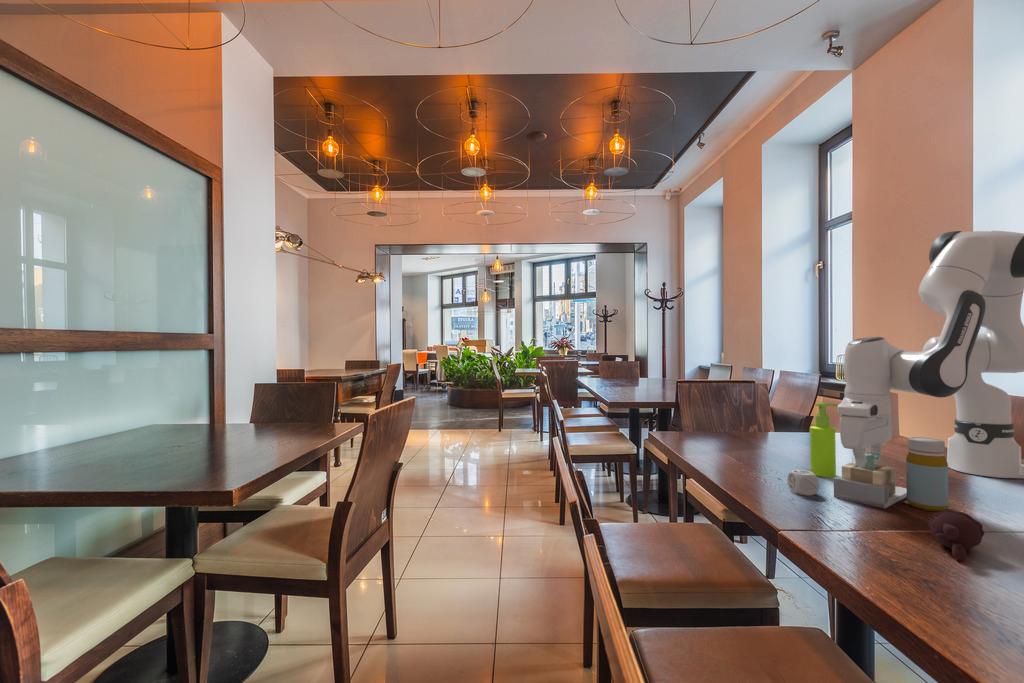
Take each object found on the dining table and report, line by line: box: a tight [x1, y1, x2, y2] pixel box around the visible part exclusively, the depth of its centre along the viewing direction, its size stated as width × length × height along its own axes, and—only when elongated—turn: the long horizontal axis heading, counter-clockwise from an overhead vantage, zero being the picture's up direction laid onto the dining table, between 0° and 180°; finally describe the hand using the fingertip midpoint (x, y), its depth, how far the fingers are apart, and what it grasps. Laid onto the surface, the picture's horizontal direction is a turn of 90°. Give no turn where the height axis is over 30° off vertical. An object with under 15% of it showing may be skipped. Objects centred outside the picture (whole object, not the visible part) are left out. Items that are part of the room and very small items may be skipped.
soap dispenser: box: [809, 402, 839, 478], centre depth 132 cm, size 6×7×20 cm
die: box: [786, 469, 820, 496], centre depth 117 cm, size 5×5×5 cm
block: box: [841, 460, 896, 497], centre depth 112 cm, size 8×8×6 cm
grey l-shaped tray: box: [833, 476, 907, 509], centre depth 114 cm, size 18×10×4 cm, turn 124°
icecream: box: [927, 509, 985, 562], centre depth 84 cm, size 7×7×15 cm
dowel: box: [858, 453, 876, 470], centre depth 112 cm, size 3×3×9 cm
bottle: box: [905, 436, 949, 512], centre depth 106 cm, size 7×7×15 cm
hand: (868, 463), depth 112 cm, fingers open, 7 cm apart
